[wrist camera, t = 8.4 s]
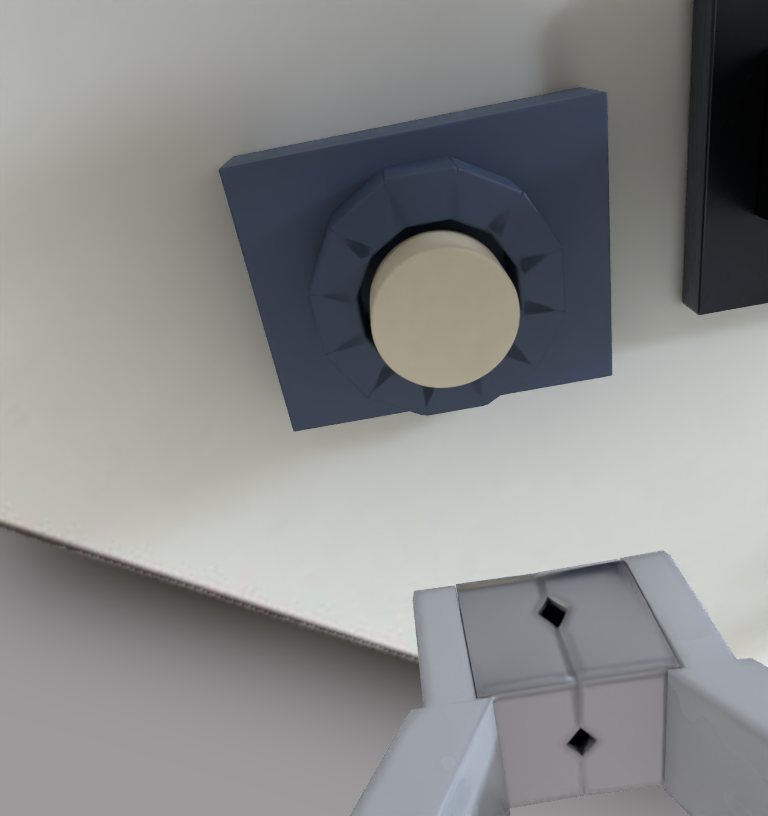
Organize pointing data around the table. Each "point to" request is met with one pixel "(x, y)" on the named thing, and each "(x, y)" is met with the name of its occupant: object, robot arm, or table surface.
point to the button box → (420, 212)
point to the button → (442, 309)
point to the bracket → (727, 158)
